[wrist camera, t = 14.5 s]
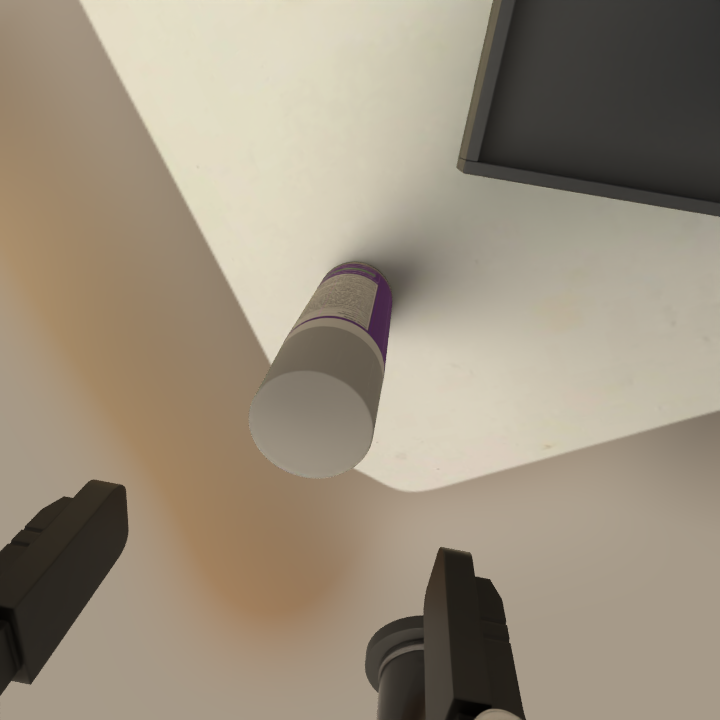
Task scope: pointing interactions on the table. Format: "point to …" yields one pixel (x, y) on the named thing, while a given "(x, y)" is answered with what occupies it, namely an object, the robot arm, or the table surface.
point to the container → (327, 377)
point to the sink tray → (601, 100)
